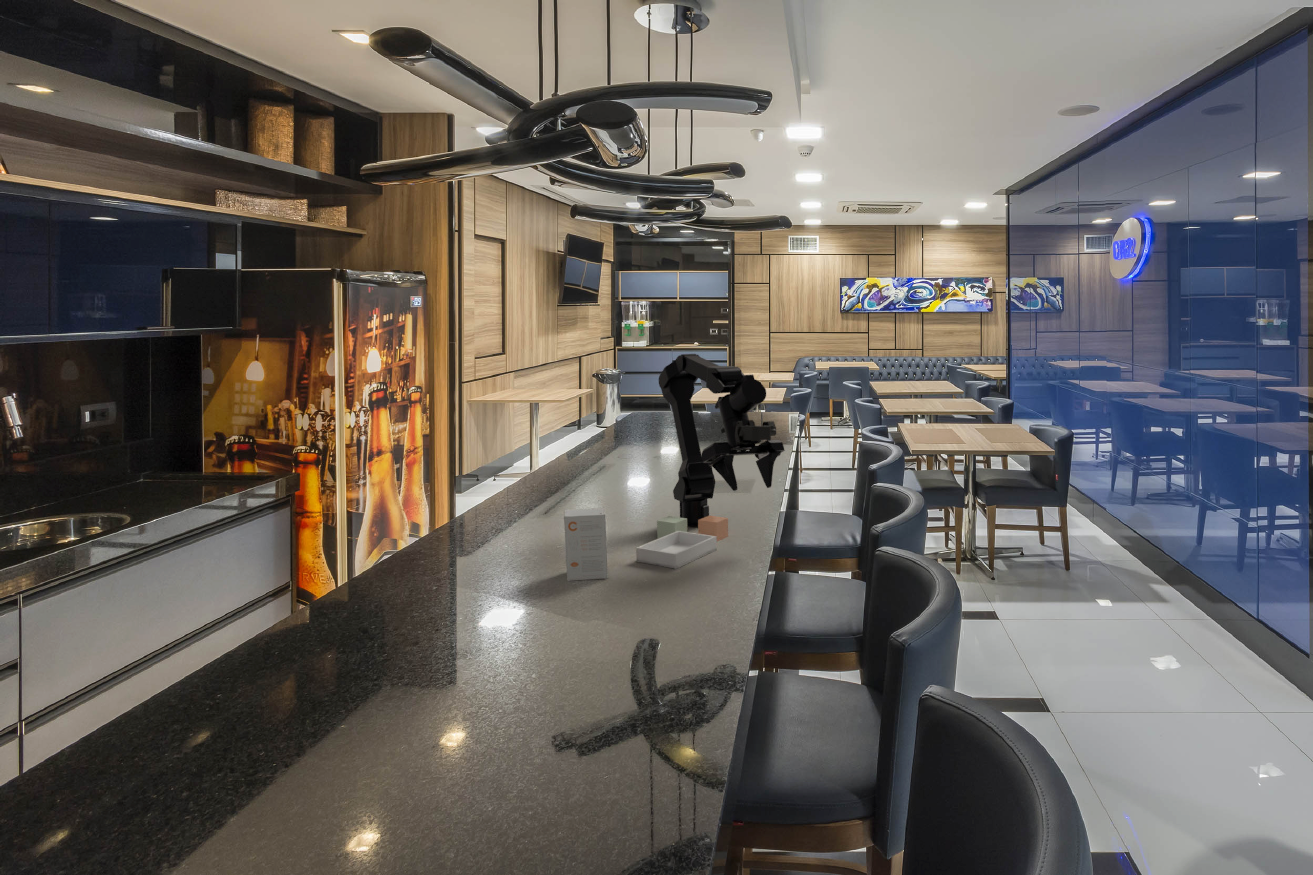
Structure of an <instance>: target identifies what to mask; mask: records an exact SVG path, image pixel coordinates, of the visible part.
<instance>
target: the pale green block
mask: <svg viewBox="0 0 1313 875" xmlns="http://www.w3.org/2000/svg"><path fill="white" fill-rule="evenodd" d="M656 527H657V528H656V530H657V531H656V533H657V539H659V538H661V537H664V536H666V535H669V534H671V533H674V532H676V531H684V532H688V525H687V518H680V516H671V515H669V516H665V517H662V518H660V519H658V520H657V521H656Z"/></svg>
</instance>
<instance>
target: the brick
mask: <svg viewBox="0 0 1313 875" xmlns="http://www.w3.org/2000/svg"><path fill="white" fill-rule="evenodd" d="M697 531H698V533H697V534H704V535H710V536H717V542H720V541H721V540H723V539H726V538H728V537H729V517H722V516H716V515H709V516H707V517H704V518H702V519H699V520H698V527H697Z"/></svg>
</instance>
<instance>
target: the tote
mask: <svg viewBox="0 0 1313 875" xmlns="http://www.w3.org/2000/svg"><path fill="white" fill-rule="evenodd" d="M717 542H718V541H717V536H710V535H704V534H698V533H695V532H689V531H687V532H684V531H676V532H674V533H671V534H669V535H666V536H664V537H661V538H659V539H658V538H656V539H654V540H651V541H649V542H646V543H644V544H642V545H640V546H637V547H636V548H635V554H636V555H635V556H636V562H638V563H643V564H648V565H654V566H660V567H664V568H670V569H675V570H677V569H679V568H681V567H683V566H686V565H687V564H690V563H692V562H694V561H696V560H699V559H700V558H702V557H705V556H706V555H709V554H711V553H713V552H716V551H717V550H718V543H717Z"/></svg>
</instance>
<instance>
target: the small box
mask: <svg viewBox="0 0 1313 875" xmlns="http://www.w3.org/2000/svg"><path fill="white" fill-rule="evenodd" d="M563 521H564V524H563V526H564V543H565V544H564V546H565V563H566V564H565V566H566V580H567V581H568V582H571V581H583V580H585V581H586V580H599V579H600V580H601V579H603V580H605V579H608V578H609V577H608V547H607V523H606V522H607V521H606V513H605V508H604V507H593V508H592V507H590V508H574V509H573V508H572V509H564V514H563Z"/></svg>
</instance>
